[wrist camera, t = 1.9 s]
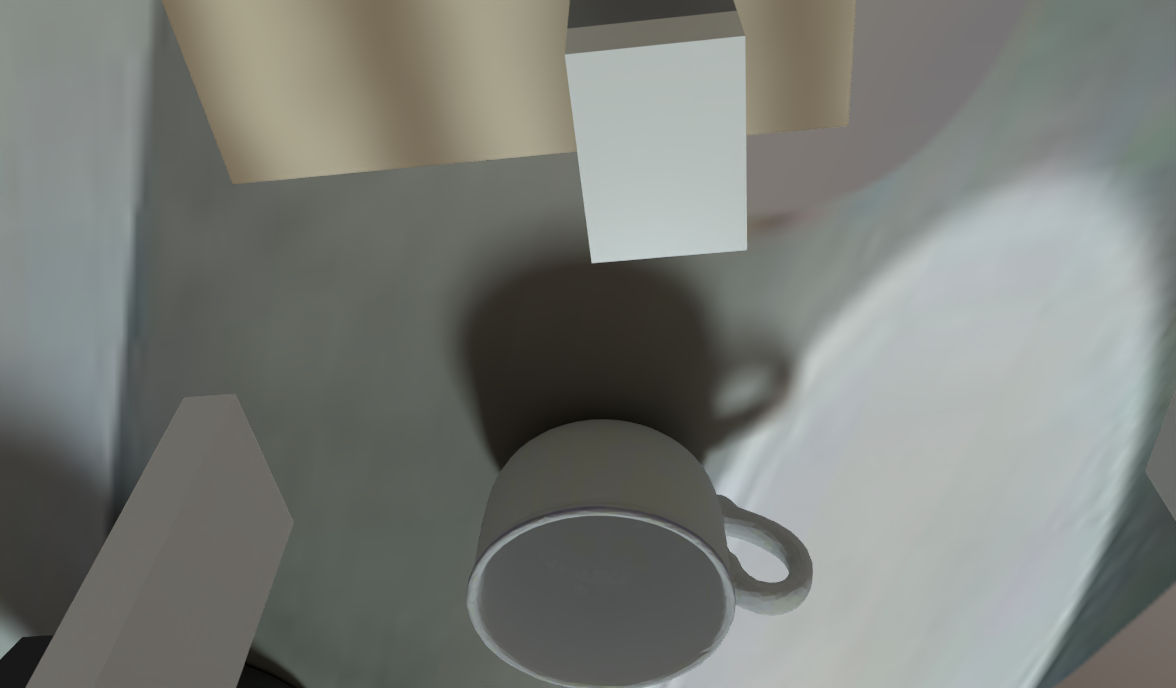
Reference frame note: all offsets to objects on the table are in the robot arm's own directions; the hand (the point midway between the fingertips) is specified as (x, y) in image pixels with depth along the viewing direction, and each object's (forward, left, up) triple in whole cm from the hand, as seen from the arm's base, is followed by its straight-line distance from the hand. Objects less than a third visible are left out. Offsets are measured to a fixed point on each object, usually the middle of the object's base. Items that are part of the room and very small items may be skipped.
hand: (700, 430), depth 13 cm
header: (-4, 0, -21) cm, 21 cm away
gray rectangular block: (0, 0, -21) cm, 21 cm away
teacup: (-2, -22, -21) cm, 30 cm away
